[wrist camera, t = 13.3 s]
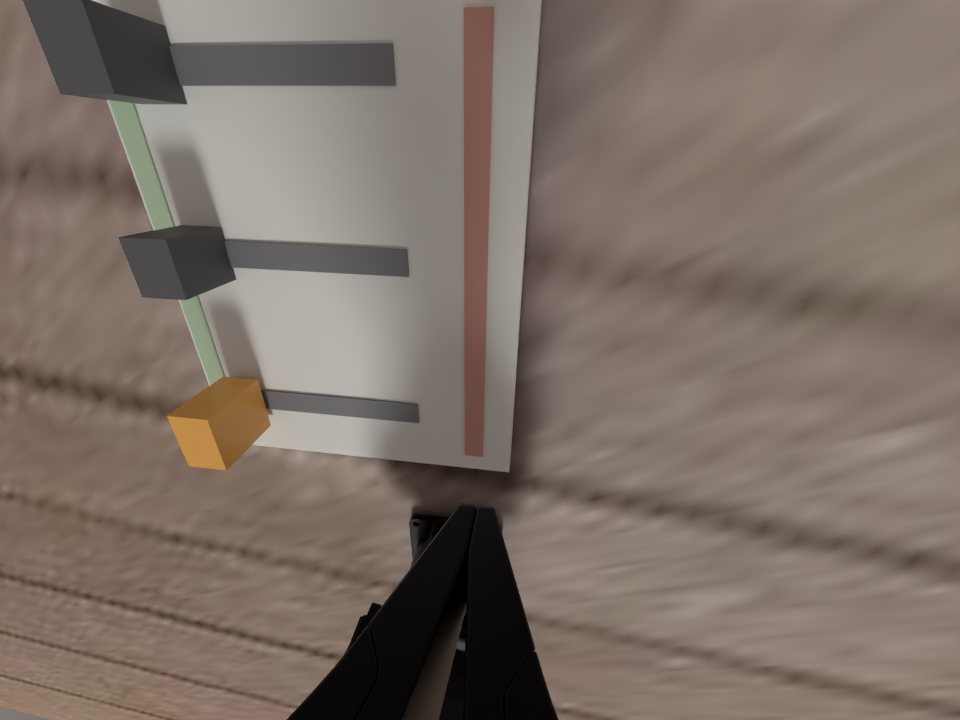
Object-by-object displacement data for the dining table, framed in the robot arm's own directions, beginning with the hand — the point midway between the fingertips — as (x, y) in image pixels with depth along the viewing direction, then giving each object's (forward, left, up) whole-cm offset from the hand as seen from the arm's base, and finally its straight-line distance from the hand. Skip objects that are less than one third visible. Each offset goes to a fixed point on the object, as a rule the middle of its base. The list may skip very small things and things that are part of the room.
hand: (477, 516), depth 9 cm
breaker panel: (+3, +8, -12) cm, 15 cm away
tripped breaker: (-5, +14, -10) cm, 18 cm away
